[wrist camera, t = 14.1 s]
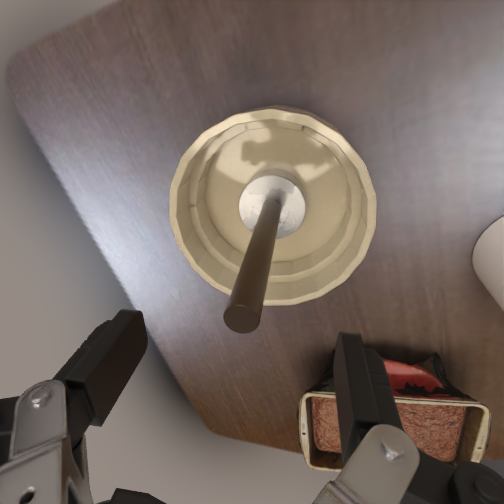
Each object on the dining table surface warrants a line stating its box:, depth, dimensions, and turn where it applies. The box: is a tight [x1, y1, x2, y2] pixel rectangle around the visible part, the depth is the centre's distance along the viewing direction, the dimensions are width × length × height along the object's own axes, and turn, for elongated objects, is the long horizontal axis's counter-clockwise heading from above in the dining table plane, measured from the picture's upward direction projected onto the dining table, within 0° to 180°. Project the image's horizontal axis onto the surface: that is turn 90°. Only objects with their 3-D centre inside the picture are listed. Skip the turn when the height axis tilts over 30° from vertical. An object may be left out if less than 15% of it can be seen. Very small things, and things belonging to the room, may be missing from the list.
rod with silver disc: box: [224, 168, 306, 334], centre depth 21 cm, size 6×6×16 cm
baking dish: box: [297, 350, 491, 472], centre depth 34 cm, size 14×18×10 cm
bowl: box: [169, 105, 377, 306], centre depth 26 cm, size 15×15×6 cm
